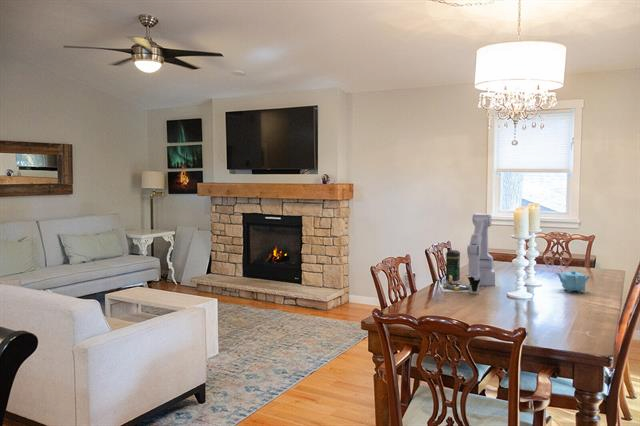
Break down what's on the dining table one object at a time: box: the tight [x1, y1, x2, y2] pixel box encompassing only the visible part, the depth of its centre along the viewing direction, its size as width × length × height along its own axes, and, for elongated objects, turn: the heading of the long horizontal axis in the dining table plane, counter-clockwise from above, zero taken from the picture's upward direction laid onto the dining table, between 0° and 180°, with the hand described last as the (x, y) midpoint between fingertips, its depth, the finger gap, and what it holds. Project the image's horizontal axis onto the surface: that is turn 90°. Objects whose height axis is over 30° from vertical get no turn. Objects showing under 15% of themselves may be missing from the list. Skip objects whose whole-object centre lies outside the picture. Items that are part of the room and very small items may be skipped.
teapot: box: [555, 270, 591, 294], centre depth 289 cm, size 16×18×11 cm
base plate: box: [438, 284, 469, 293], centre depth 299 cm, size 19×19×1 cm
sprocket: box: [442, 276, 470, 291], centre depth 299 cm, size 16×17×6 cm
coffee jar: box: [445, 249, 461, 281], centre depth 327 cm, size 10×8×19 cm
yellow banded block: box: [468, 283, 480, 295], centre depth 286 cm, size 5×3×5 cm, turn 84°
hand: (473, 290), depth 287 cm, fingers closed on yellow banded block, 3 cm apart
